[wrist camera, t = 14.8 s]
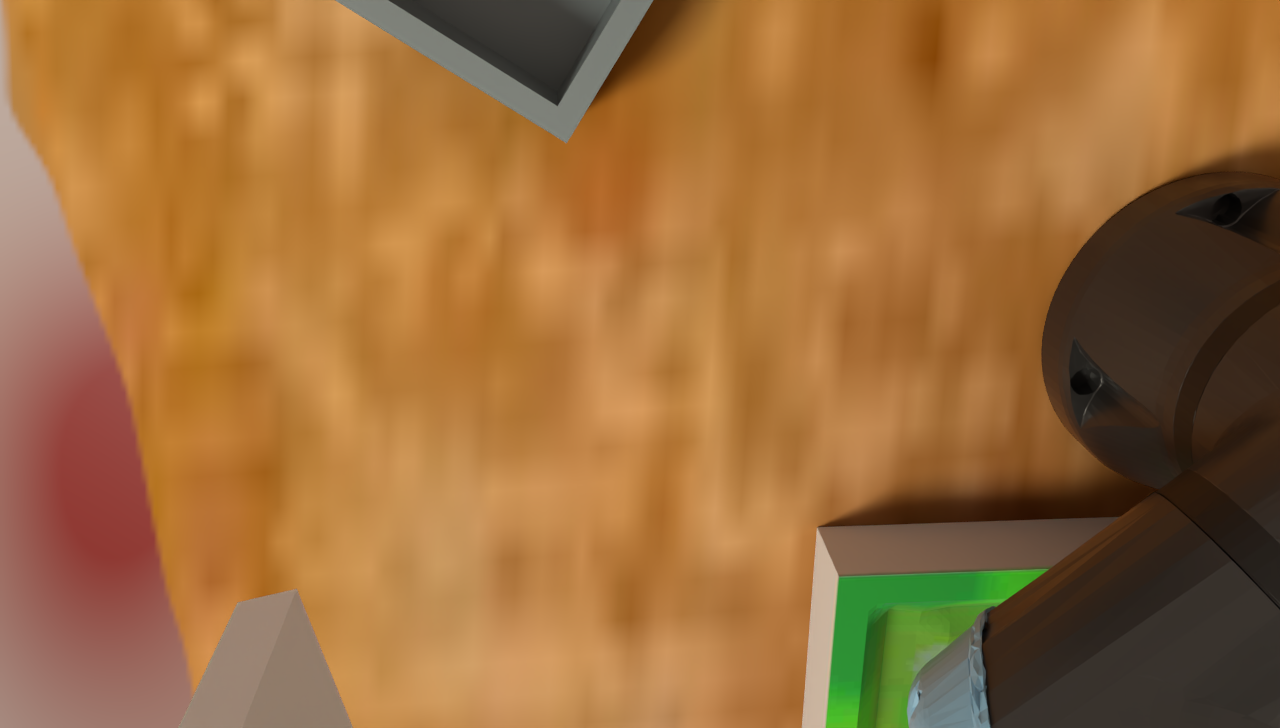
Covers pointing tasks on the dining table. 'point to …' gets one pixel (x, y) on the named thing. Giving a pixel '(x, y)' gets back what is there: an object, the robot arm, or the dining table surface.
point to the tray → (911, 604)
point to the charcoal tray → (518, 47)
